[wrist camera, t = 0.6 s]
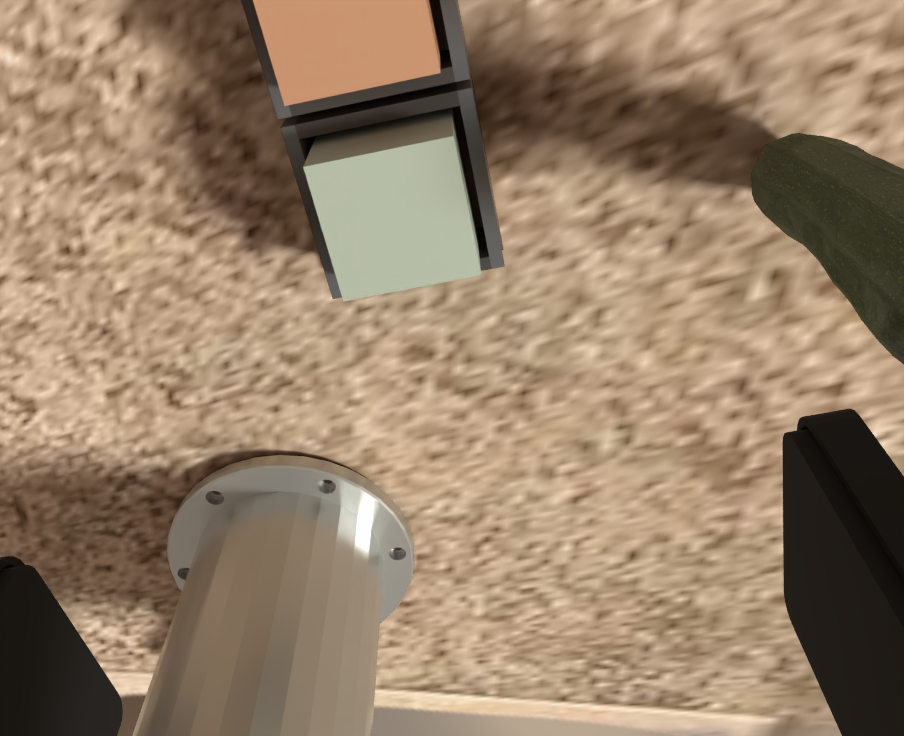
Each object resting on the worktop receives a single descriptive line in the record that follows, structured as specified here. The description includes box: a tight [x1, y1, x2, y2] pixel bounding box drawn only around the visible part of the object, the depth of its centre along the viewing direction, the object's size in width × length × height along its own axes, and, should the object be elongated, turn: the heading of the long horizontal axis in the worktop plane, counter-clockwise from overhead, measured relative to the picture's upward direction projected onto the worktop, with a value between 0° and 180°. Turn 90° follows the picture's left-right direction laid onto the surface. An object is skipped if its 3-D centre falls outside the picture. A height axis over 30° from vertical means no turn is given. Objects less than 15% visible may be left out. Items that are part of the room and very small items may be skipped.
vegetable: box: [751, 133, 904, 364], centre depth 25 cm, size 4×4×20 cm
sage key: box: [303, 107, 481, 301], centre depth 30 cm, size 5×5×4 cm
